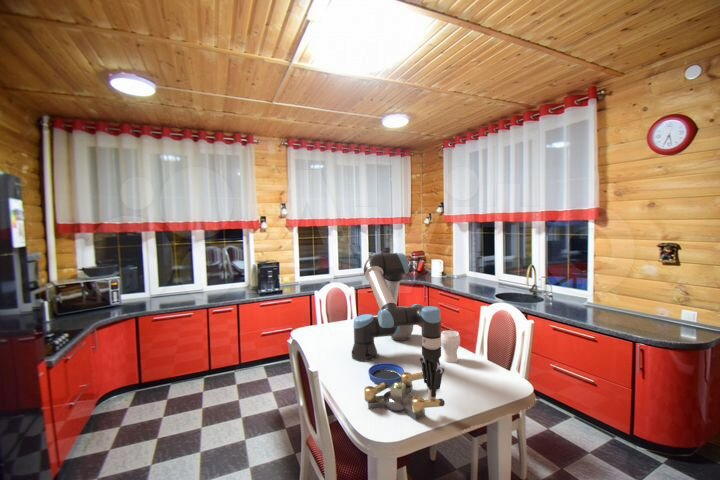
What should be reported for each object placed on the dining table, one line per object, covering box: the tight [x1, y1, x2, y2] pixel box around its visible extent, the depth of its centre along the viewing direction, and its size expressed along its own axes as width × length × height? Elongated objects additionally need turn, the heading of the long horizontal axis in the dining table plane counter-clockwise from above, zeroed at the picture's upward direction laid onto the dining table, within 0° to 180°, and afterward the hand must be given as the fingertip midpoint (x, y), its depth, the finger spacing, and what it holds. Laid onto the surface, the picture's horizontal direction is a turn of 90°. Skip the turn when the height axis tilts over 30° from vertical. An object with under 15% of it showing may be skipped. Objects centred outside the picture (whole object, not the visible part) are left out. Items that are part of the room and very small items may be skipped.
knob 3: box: [364, 382, 389, 403], centre depth 136 cm, size 13×5×4 cm, turn 133°
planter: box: [390, 305, 414, 341], centre depth 211 cm, size 20×20×19 cm
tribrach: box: [367, 382, 426, 421], centre depth 136 cm, size 25×22×9 cm
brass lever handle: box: [412, 395, 446, 414], centre depth 125 cm, size 13×5×4 cm, turn 95°
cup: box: [441, 330, 461, 364], centre depth 176 cm, size 11×11×15 cm
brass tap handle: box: [400, 371, 424, 387], centre depth 147 cm, size 13×5×4 cm, turn 109°
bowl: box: [368, 362, 405, 386], centre depth 158 cm, size 18×18×4 cm
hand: (431, 403), depth 127 cm, fingers closed
